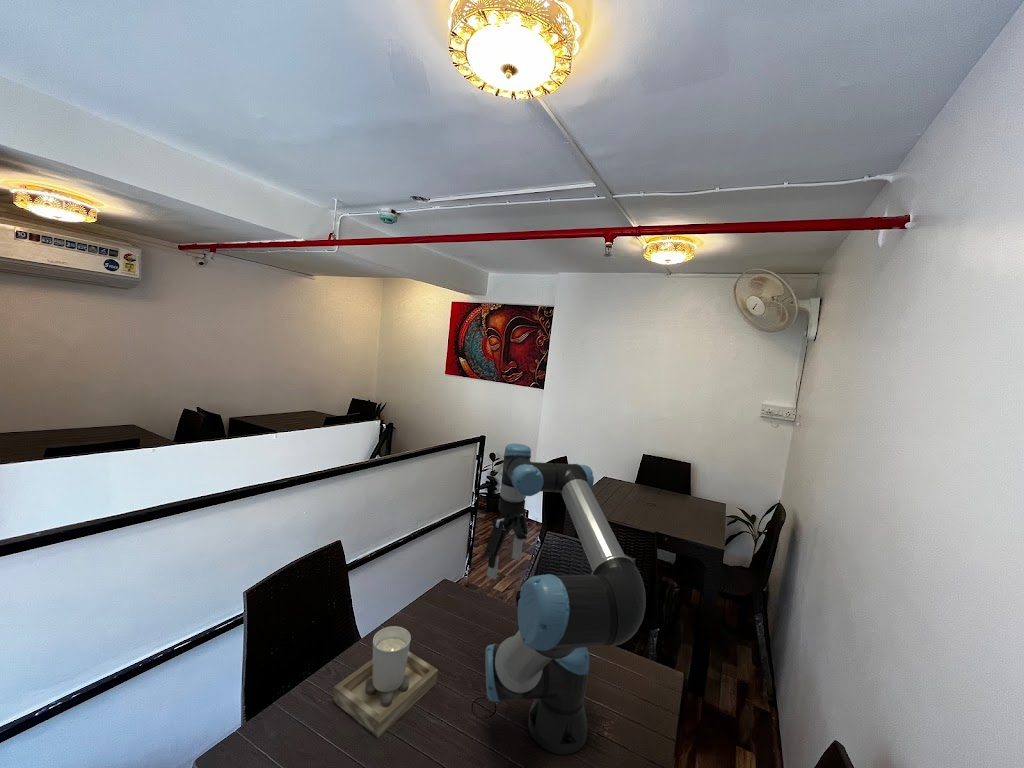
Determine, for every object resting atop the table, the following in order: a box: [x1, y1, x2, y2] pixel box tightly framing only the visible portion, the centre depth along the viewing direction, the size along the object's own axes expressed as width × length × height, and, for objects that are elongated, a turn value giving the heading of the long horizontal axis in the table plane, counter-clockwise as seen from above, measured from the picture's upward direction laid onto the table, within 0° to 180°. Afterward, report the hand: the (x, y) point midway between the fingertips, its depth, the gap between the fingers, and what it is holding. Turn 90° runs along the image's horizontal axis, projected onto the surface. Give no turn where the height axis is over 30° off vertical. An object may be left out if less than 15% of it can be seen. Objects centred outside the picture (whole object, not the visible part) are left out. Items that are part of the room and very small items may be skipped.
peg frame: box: [332, 650, 439, 739], centre depth 114 cm, size 17×21×4 cm
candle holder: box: [372, 625, 412, 692], centre depth 113 cm, size 10×10×12 cm
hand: (504, 567), depth 123 cm, fingers open, 13 cm apart
